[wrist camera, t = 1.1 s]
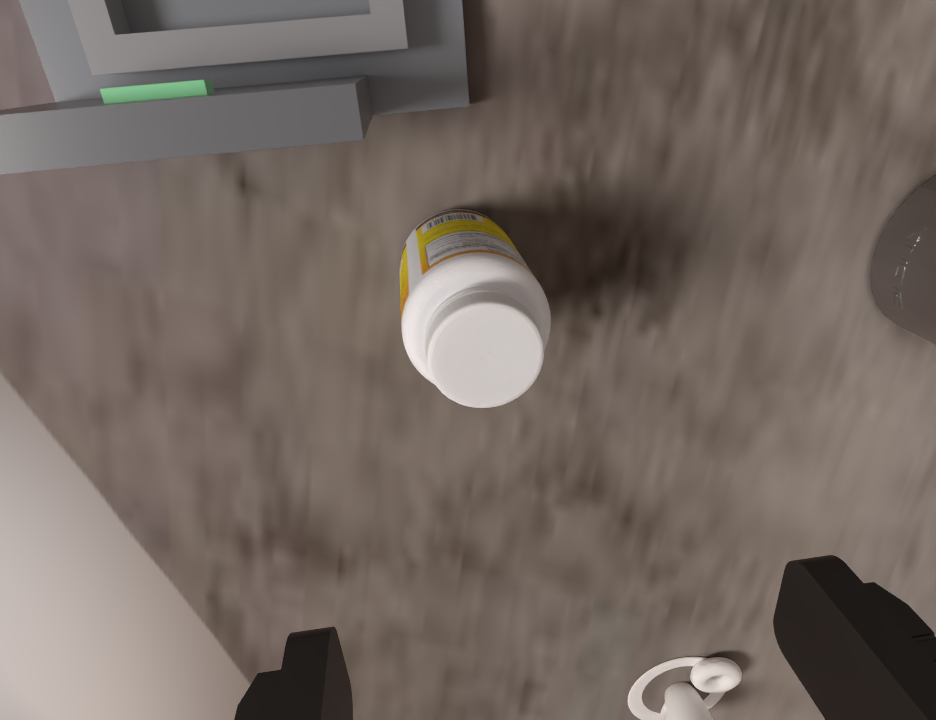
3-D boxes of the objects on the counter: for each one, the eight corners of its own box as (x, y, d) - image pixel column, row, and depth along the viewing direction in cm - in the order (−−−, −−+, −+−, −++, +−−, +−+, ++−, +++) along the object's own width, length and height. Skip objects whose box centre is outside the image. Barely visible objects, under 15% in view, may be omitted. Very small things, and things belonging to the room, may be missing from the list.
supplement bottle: (460, 337, 31) (487, 456, 22) (375, 268, 28) (365, 368, 19) (537, 258, 29) (602, 350, 20) (454, 179, 27) (484, 242, 18)
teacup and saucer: (726, 634, 45) (756, 685, 41) (741, 694, 48) (769, 746, 45) (615, 672, 45) (634, 726, 42) (638, 728, 49) (657, 782, 45)
